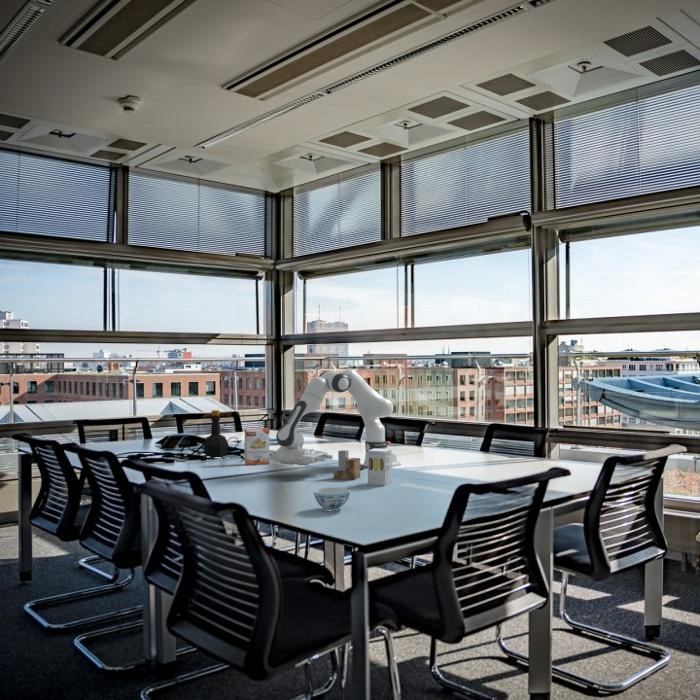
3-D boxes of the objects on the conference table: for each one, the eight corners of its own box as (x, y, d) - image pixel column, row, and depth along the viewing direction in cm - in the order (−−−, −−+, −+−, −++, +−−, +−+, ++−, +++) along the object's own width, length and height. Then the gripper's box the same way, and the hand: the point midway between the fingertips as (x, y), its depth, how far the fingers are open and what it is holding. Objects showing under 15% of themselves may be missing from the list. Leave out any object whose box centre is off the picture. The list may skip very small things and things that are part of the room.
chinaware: (351, 505, 298) (351, 487, 298) (349, 513, 283) (348, 494, 283) (315, 505, 299) (315, 487, 299) (311, 513, 284) (311, 494, 284)
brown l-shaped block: (333, 478, 367) (333, 459, 367) (339, 476, 374) (339, 457, 374) (354, 479, 362) (354, 460, 363) (360, 477, 370) (360, 458, 370)
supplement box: (367, 484, 348) (366, 450, 348) (374, 481, 356) (374, 448, 357) (385, 486, 344) (385, 451, 344) (392, 482, 352) (391, 448, 353)
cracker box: (246, 465, 416) (246, 429, 416) (244, 464, 422) (243, 429, 422) (270, 464, 421) (269, 428, 422) (267, 462, 427) (266, 427, 427)
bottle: (208, 460, 442) (207, 411, 442) (199, 457, 456) (199, 410, 456) (232, 458, 450) (232, 410, 450) (223, 455, 464) (222, 409, 464)
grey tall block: (338, 478, 368) (338, 451, 368) (341, 477, 372) (341, 450, 372) (345, 478, 367) (345, 451, 367) (348, 477, 370) (348, 450, 370)
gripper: (295, 453, 368) (320, 454, 363) (313, 448, 387) (336, 449, 382) (295, 465, 368) (320, 466, 363) (313, 460, 387) (336, 461, 382)
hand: (328, 458), depth 372 cm, fingers open, 8 cm apart
